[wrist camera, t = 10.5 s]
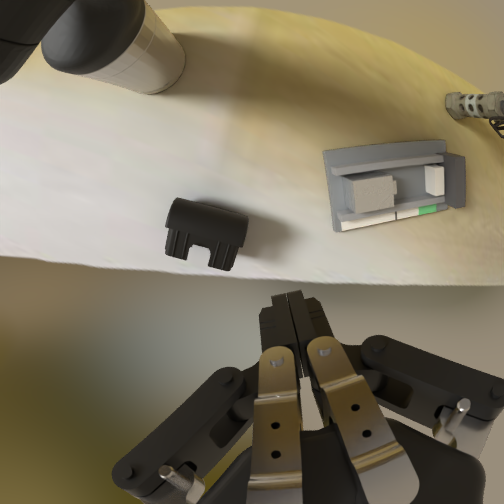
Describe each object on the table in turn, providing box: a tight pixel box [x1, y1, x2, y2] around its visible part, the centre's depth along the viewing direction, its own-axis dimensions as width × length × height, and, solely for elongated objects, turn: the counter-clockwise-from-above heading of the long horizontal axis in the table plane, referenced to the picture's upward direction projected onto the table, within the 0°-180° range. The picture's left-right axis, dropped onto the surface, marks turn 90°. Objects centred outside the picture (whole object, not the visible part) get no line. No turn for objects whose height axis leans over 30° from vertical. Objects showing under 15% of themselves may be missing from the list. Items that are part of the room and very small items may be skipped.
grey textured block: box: [342, 171, 397, 214], centre depth 35 cm, size 4×8×4 cm, turn 102°
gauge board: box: [323, 140, 466, 232], centre depth 35 cm, size 12×22×6 cm, turn 102°
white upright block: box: [425, 164, 444, 196], centre depth 35 cm, size 4×2×3 cm, turn 12°
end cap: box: [165, 198, 249, 271], centre depth 37 cm, size 10×7×7 cm
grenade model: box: [446, 92, 504, 139], centre depth 25 cm, size 6×7×15 cm
